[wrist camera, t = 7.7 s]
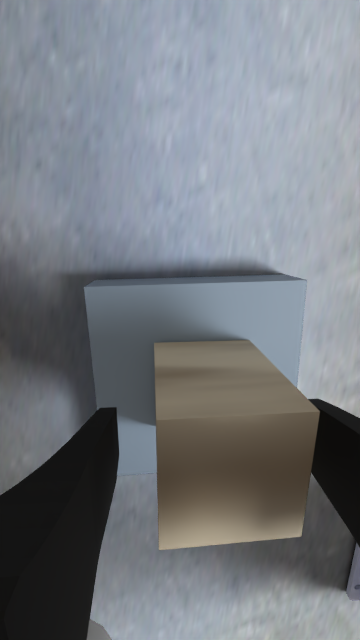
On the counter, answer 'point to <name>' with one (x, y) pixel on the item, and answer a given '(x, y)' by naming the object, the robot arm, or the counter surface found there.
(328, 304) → the counter surface
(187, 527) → the birch block
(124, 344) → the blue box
